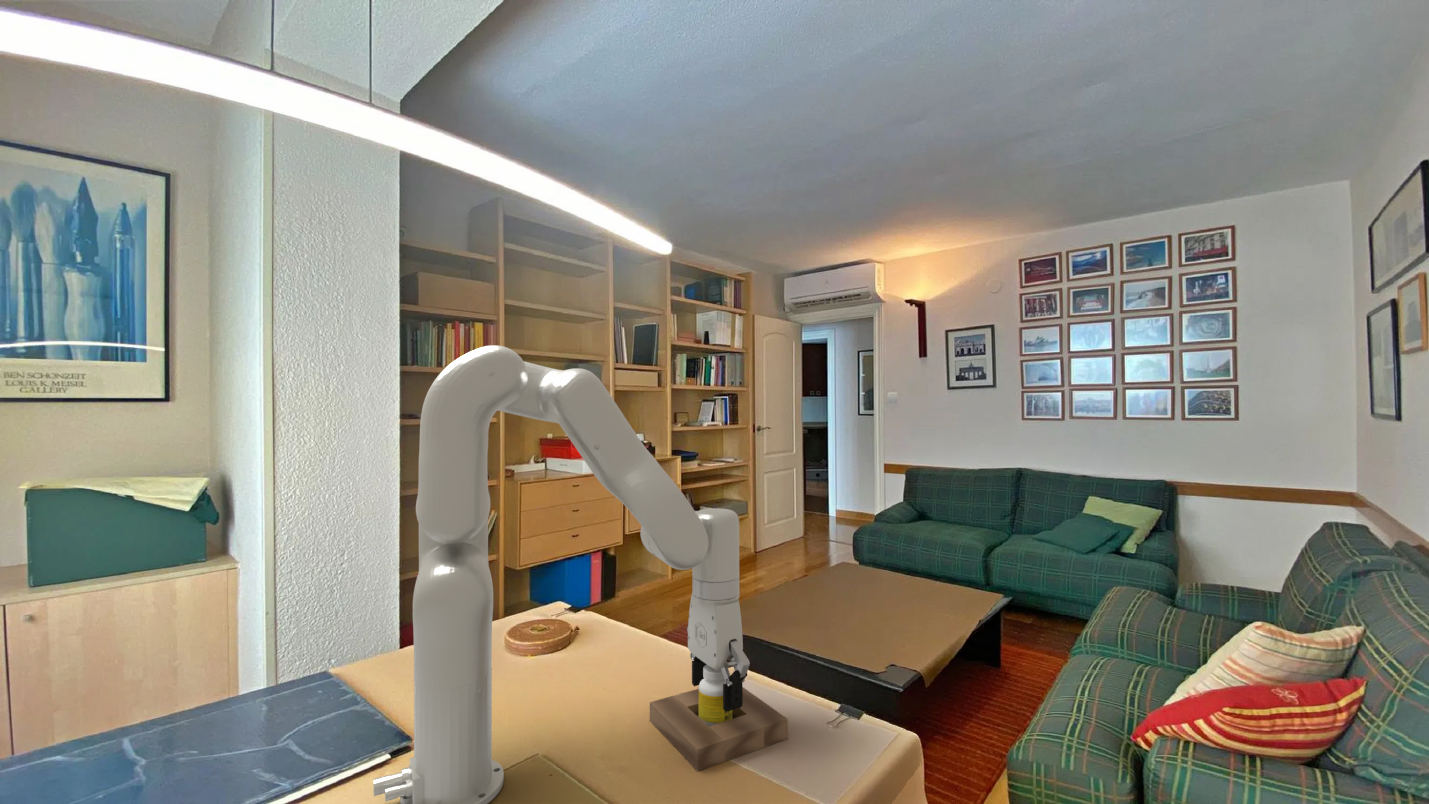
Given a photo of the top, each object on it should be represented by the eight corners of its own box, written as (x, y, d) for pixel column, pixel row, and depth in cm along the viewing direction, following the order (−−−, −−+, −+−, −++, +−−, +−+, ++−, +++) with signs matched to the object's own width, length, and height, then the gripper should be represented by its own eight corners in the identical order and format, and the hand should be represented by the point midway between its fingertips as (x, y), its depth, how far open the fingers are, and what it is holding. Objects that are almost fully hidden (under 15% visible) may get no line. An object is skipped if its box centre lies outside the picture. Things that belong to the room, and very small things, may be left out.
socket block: (697, 771, 83) (697, 749, 83) (649, 720, 97) (649, 702, 97) (787, 738, 92) (787, 718, 92) (732, 696, 105) (731, 679, 105)
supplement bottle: (729, 740, 91) (729, 676, 91) (695, 737, 92) (694, 673, 92) (735, 722, 96) (734, 661, 97) (702, 719, 98) (702, 659, 98)
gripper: (670, 578, 100) (670, 680, 100) (724, 606, 85) (725, 726, 85) (708, 571, 104) (709, 670, 104) (766, 598, 89) (767, 712, 89)
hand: (716, 695), depth 94 cm, fingers open, 9 cm apart
